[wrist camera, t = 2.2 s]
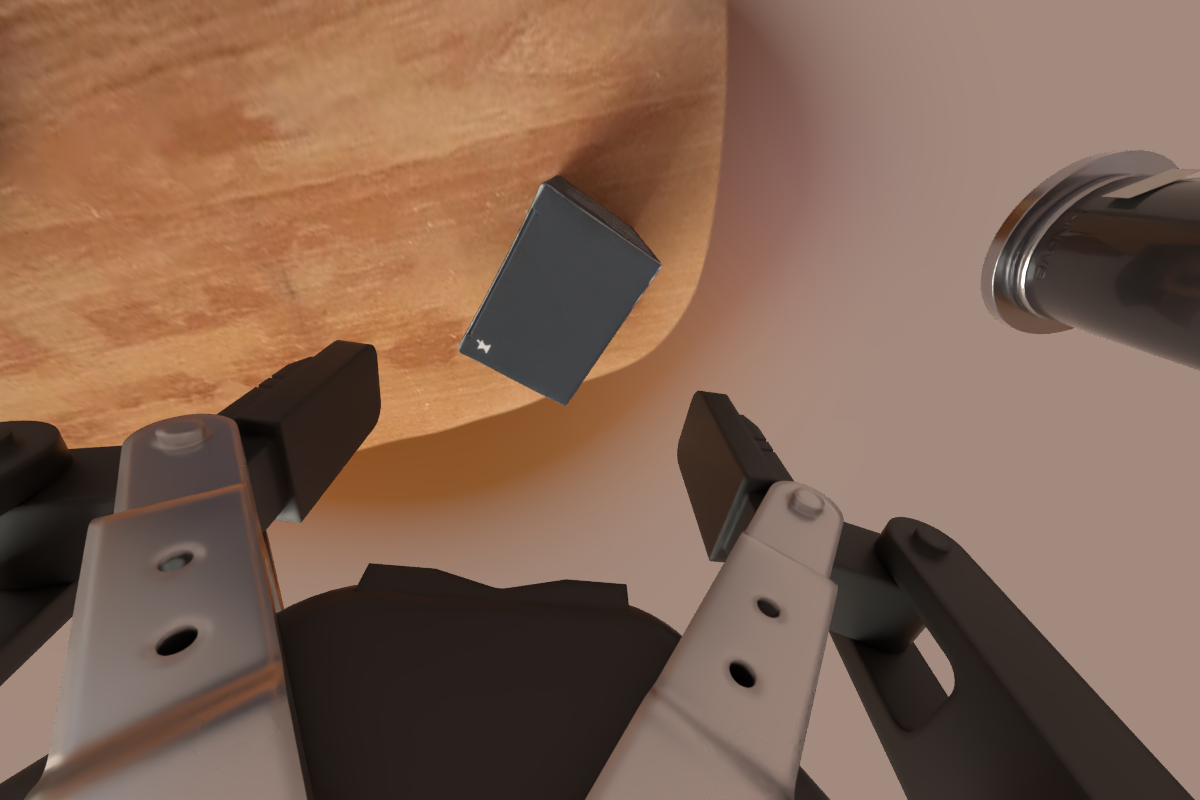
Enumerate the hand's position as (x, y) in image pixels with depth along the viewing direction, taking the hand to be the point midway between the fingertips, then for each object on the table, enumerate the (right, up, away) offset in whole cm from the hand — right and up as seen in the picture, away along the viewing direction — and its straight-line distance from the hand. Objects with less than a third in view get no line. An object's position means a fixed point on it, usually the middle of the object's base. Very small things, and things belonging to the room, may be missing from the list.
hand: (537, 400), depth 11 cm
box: (-1, +9, +16) cm, 18 cm away
